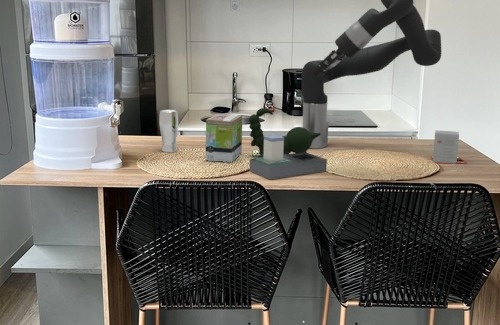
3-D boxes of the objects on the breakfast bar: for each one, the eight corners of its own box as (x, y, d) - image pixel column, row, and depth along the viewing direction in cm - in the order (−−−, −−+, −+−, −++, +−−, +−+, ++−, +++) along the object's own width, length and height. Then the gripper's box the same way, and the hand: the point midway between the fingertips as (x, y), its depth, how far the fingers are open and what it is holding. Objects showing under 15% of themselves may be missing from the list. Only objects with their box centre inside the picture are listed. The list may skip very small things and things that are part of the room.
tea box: (233, 163, 189) (233, 120, 185) (204, 161, 190) (204, 119, 187) (242, 153, 203) (242, 113, 199) (216, 152, 205) (215, 112, 201)
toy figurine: (251, 164, 194) (322, 159, 193) (247, 111, 190) (320, 105, 188) (252, 158, 203) (320, 153, 202) (248, 107, 199) (318, 102, 197)
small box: (456, 160, 196) (459, 131, 194) (456, 164, 191) (459, 134, 189) (432, 158, 199) (435, 129, 196) (432, 162, 194) (435, 132, 191)
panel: (304, 163, 189) (304, 150, 188) (326, 171, 179) (326, 157, 178) (249, 171, 178) (249, 157, 177) (269, 179, 168) (270, 165, 167)
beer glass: (156, 151, 204) (155, 111, 200) (166, 147, 210) (165, 109, 207) (173, 153, 201) (172, 112, 198) (182, 149, 208) (181, 110, 204)
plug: (274, 171, 179) (275, 134, 176) (283, 174, 175) (284, 137, 172) (263, 172, 176) (263, 136, 174) (270, 176, 173) (271, 138, 170)
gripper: (359, 49, 161) (318, 86, 167) (365, 47, 174) (327, 82, 180) (342, 30, 161) (302, 68, 167) (349, 30, 174) (312, 65, 181)
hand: (315, 75), depth 174 cm, fingers open, 8 cm apart
